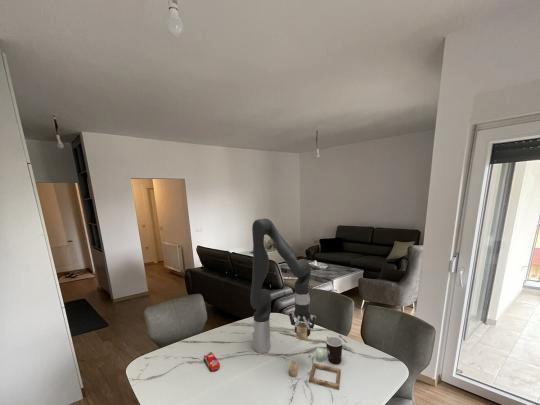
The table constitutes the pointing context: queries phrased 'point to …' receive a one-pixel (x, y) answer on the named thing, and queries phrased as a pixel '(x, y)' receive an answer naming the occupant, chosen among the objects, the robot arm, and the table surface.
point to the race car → (211, 361)
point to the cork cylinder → (292, 369)
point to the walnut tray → (323, 382)
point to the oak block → (302, 331)
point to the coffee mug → (334, 349)
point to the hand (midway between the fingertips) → (302, 334)
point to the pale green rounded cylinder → (320, 354)
